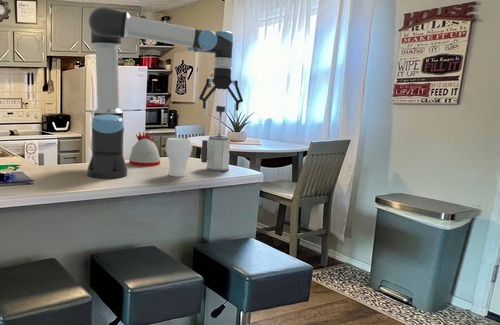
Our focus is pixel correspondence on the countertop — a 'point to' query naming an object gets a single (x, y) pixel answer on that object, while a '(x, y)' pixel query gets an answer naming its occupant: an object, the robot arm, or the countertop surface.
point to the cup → (178, 155)
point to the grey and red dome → (144, 152)
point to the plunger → (220, 110)
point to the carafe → (216, 153)
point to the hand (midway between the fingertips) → (220, 117)
